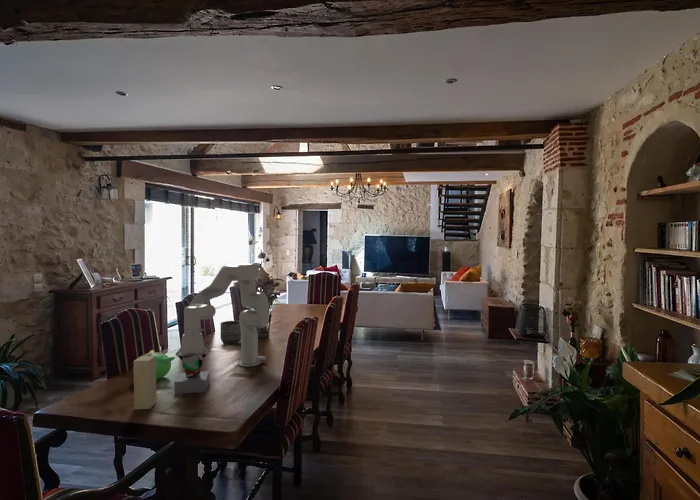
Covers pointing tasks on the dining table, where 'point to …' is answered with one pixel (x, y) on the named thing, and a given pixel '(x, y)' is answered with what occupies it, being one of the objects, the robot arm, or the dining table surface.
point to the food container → (191, 365)
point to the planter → (230, 332)
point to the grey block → (191, 383)
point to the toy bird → (160, 363)
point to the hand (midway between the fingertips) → (192, 367)
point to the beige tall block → (144, 382)
